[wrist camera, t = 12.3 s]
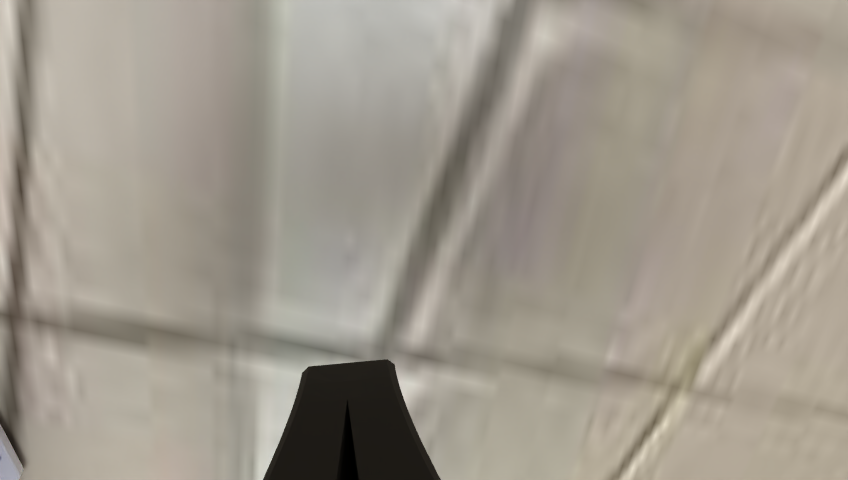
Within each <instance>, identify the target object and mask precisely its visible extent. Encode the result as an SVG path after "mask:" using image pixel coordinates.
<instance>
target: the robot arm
mask: <svg viewBox="0 0 848 480" xmlns="http://www.w3.org/2000/svg"><path fill="white" fill-rule="evenodd" d="M22 472H23V466H22V464H21V462H20V461H19V459H18V457H17V455H16V453H15V451H14V449H13V447H12V445H11V443H10V441H9V440H8V438H7V436H6V434H5V432H4V430H3V428H2V426H1V424H0V480H19V479H20V477H21V475H22ZM263 480H441V479H440V478H439V476H438V474H437V472H436V470H435V468H434V466H433V464H432V462H431V460H430V458H429V456H428V454H427V452H426V450H425V448H424V446H423V444H422V442H421V440H420V438H419V435H418V433H417V431H416V429H415V426H414V424H413V422H412V419H411V417H410V414H409V412H408V409H407V407H406V404H405V401H404V399H403V396H402V393H401V390H400V386H399V383H398V379H397V375H396V371H395V365H394V364H393V363H392V362H390V361H389V360H376V361H365V362H354V363H343V364H332V365H321V366H310V367H308V368H307V369H306V370H305V371H304V372H303V373H302V377H301V381H300V385H299V389H298V392H297V395H296V398H295V402H294V405H293V408H292V410H291V413H290V416H289V419H288V421H287V424H286V427H285V429H284V432H283V435H282V437H281V440H280V442H279V444H278V447H277V449H276V451H275V454H274V456H273V458H272V460H271V463H270V465H269V467H268V470H267V472H266V474H265V477H264V479H263Z"/></svg>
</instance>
